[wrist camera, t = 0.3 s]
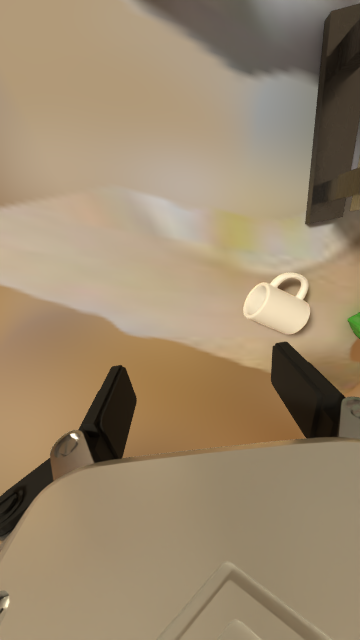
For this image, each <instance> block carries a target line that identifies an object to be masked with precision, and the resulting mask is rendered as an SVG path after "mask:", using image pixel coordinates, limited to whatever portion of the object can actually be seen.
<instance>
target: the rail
mask: <svg viewBox="0 0 360 640" xmlns="http://www.w3.org/2000/svg"><path fill="white" fill-rule="evenodd" d="M359 167H360V157H359V163H358V168H359ZM355 210H360V194H357V195H353V196H352V201H351V207H350V211H355Z"/></svg>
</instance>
